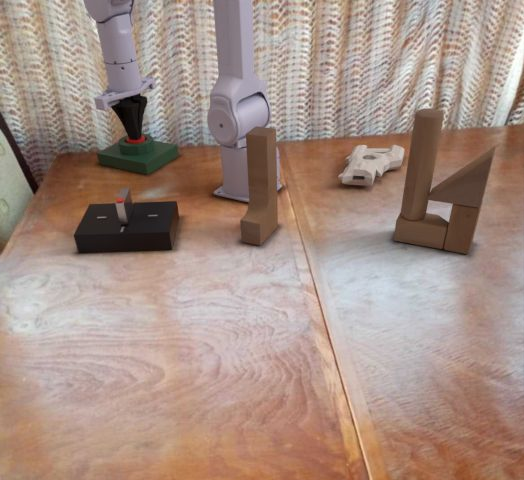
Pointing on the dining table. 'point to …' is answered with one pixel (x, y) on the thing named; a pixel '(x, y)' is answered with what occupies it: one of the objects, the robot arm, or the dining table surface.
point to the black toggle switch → (128, 228)
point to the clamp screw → (124, 206)
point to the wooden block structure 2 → (440, 192)
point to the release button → (135, 140)
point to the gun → (370, 164)
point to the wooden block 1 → (261, 186)
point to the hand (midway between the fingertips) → (135, 138)
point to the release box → (138, 155)
